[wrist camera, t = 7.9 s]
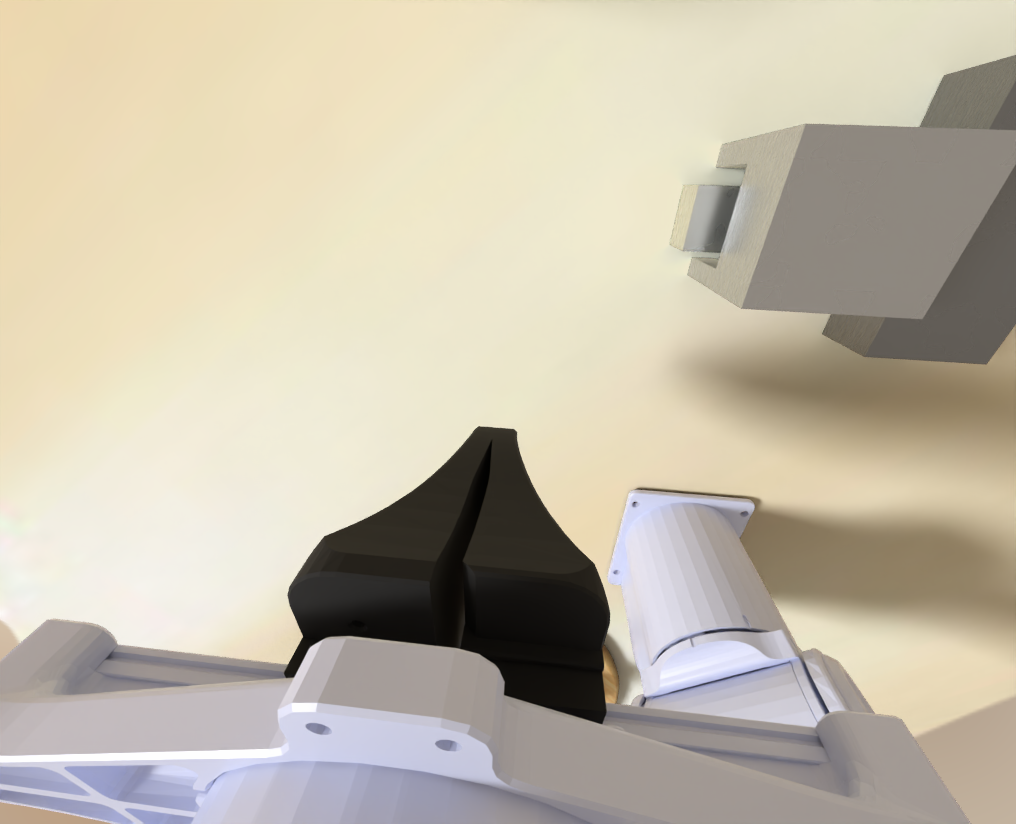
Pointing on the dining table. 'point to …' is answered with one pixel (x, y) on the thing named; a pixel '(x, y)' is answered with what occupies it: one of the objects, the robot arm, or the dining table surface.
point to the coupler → (975, 277)
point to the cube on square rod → (854, 216)
